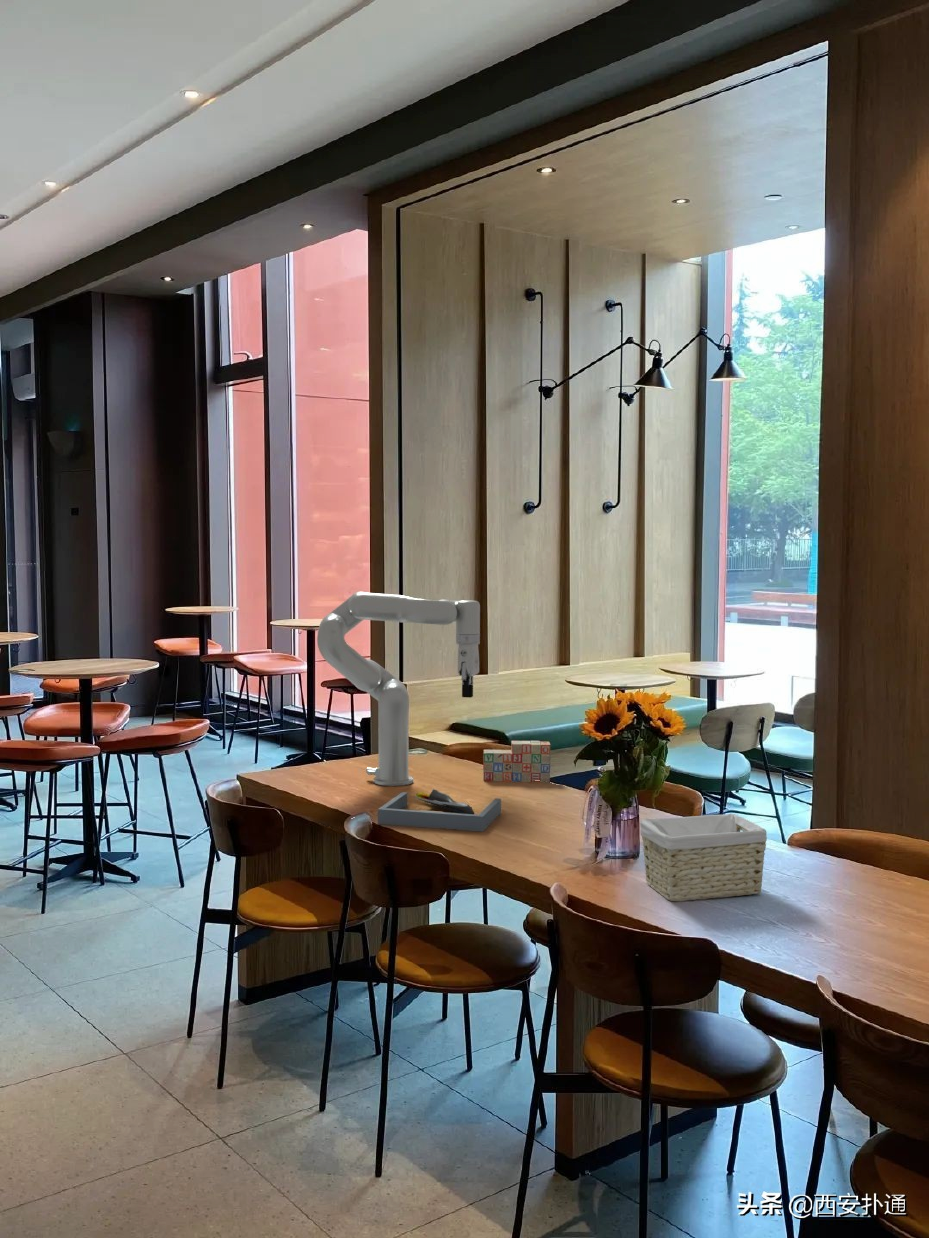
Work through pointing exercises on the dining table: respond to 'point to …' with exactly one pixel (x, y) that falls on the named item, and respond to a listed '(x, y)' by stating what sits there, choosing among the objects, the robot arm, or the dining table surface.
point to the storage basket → (703, 856)
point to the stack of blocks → (518, 762)
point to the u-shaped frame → (436, 816)
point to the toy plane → (444, 802)
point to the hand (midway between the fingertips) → (467, 696)
